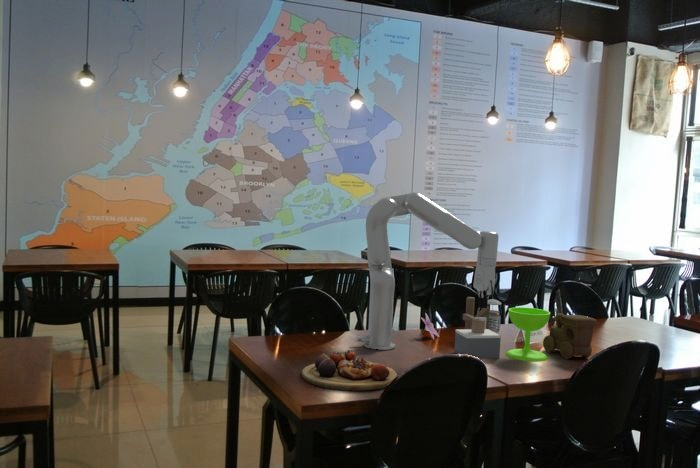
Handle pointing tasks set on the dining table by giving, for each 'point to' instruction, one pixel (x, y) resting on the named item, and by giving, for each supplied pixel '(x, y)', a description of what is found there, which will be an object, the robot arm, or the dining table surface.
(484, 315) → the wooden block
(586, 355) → the wooden toy train
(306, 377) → the wooden plate with food
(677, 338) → the dining table surface
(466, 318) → the tan bar
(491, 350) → the toolbox
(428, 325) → the lily
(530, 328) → the wineglass
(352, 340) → the dining table surface
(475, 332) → the lid
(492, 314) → the french press
